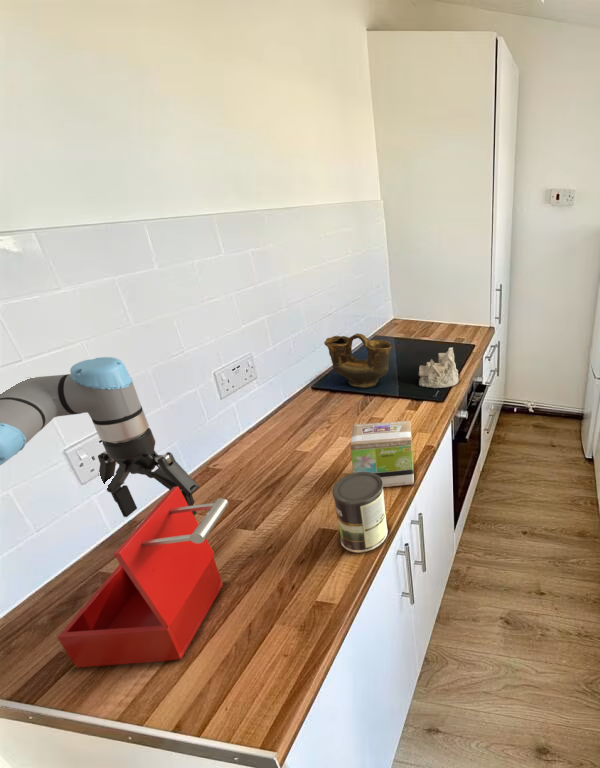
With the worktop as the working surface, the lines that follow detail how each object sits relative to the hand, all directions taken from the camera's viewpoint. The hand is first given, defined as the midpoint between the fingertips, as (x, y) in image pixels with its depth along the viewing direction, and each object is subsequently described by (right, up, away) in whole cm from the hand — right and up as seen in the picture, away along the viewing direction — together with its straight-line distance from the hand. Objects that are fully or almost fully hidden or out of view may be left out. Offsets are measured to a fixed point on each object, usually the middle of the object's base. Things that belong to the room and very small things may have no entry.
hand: (160, 515), depth 95 cm
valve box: (+14, -14, -18) cm, 26 cm away
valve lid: (+21, +1, -24) cm, 32 cm away
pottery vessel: (+20, +29, +72) cm, 80 cm away
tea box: (+43, +4, +22) cm, 49 cm away
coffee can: (+44, -6, +3) cm, 45 cm away
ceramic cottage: (+48, +31, +78) cm, 97 cm away
